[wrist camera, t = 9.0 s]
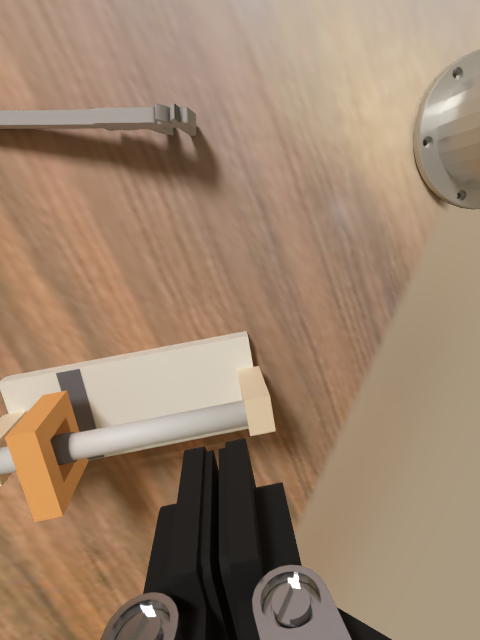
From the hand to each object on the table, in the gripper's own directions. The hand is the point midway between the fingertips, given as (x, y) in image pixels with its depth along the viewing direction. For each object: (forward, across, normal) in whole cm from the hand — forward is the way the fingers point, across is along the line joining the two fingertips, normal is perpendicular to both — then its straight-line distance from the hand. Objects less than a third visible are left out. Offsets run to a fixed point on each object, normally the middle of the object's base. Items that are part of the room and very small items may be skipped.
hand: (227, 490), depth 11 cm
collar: (+22, +15, +8) cm, 28 cm away
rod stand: (+26, +10, +8) cm, 29 cm away
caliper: (+27, +9, -16) cm, 33 cm away
